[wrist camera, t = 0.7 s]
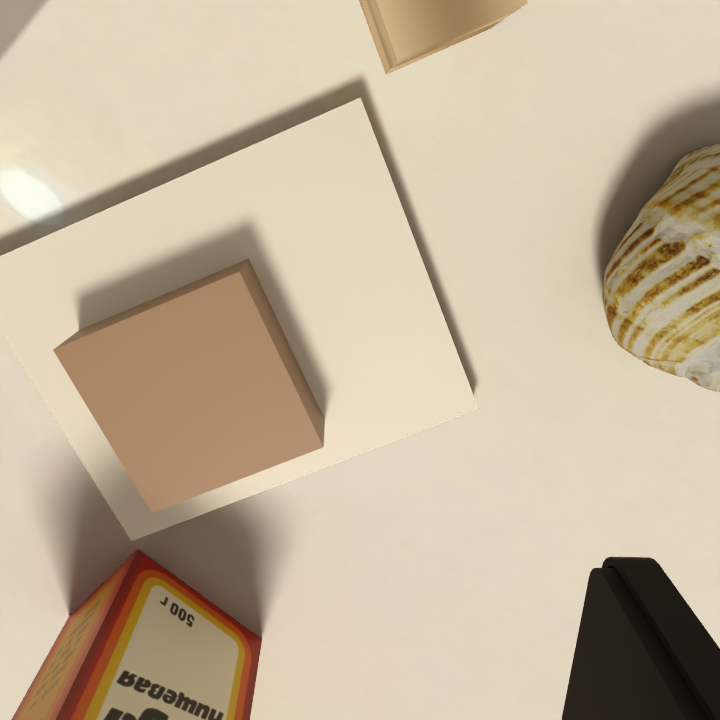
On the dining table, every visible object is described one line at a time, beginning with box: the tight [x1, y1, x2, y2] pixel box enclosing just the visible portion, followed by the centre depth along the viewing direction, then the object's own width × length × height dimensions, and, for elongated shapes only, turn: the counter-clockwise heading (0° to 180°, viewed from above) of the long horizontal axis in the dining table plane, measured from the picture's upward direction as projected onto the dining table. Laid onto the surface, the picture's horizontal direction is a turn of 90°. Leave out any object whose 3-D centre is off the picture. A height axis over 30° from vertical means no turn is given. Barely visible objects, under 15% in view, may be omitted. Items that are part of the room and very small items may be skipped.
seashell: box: [603, 144, 720, 392], centre depth 29 cm, size 10×10×10 cm
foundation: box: [0, 97, 479, 541], centre depth 31 cm, size 20×16×4 cm
